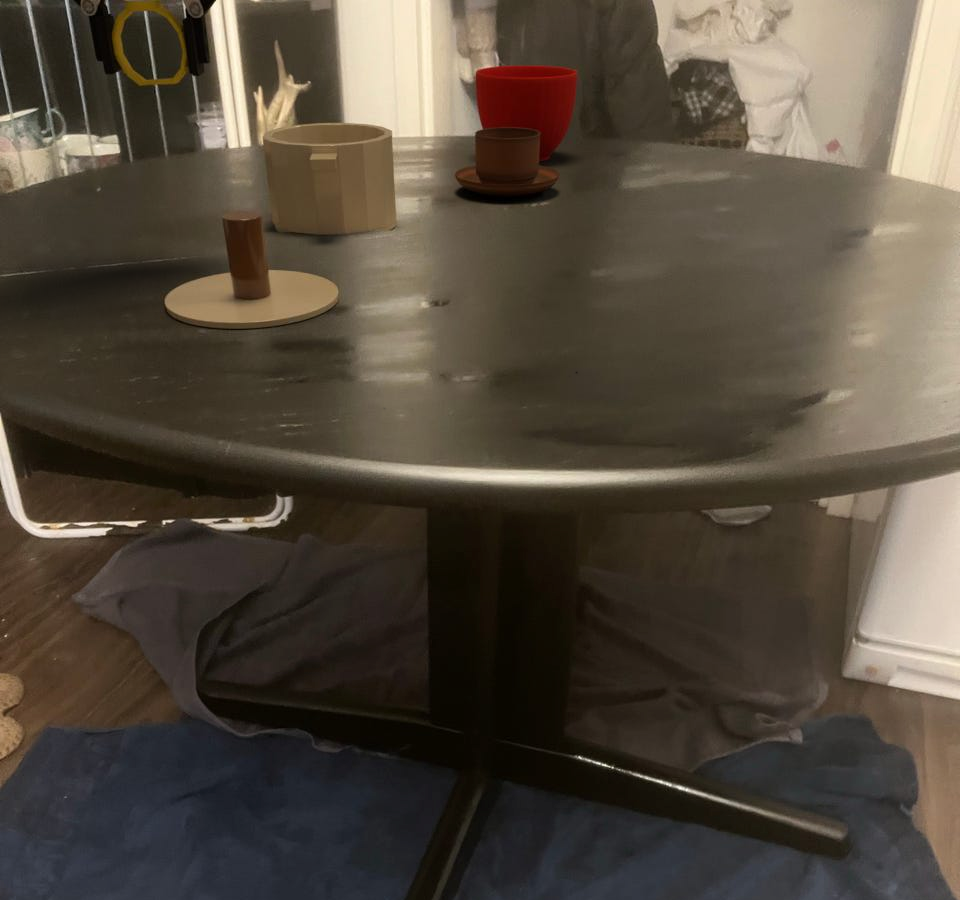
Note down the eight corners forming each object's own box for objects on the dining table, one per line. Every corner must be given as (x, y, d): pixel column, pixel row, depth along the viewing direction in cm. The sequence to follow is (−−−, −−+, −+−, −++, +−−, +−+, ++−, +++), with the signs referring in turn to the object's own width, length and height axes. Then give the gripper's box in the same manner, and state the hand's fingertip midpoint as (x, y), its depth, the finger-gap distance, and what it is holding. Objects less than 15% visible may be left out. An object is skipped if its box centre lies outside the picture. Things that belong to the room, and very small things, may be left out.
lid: (150, 338, 74) (130, 240, 69) (184, 284, 85) (168, 196, 80) (334, 334, 74) (325, 236, 70) (344, 281, 85) (336, 193, 81)
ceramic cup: (563, 143, 138) (567, 61, 132) (579, 166, 125) (584, 77, 119) (472, 144, 138) (471, 62, 132) (478, 168, 124) (478, 78, 118)
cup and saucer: (450, 182, 118) (448, 125, 114) (547, 179, 119) (549, 122, 115) (461, 205, 108) (461, 143, 104) (568, 201, 109) (571, 140, 106)
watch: (198, 84, 82) (187, -1, 78) (189, 88, 80) (178, 1, 76) (126, 82, 82) (112, -3, 78) (116, 86, 80) (101, -1, 76)
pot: (264, 248, 94) (252, 151, 89) (283, 205, 108) (273, 119, 103) (395, 246, 94) (390, 149, 89) (397, 203, 109) (393, 118, 104)
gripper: (241, -206, 73) (267, 70, 84) (5, -214, 72) (61, 66, 83) (226, -218, 67) (256, 81, 78) (-32, -228, 66) (34, 77, 77)
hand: (155, 70), depth 80 cm, fingers closed on watch, 6 cm apart
